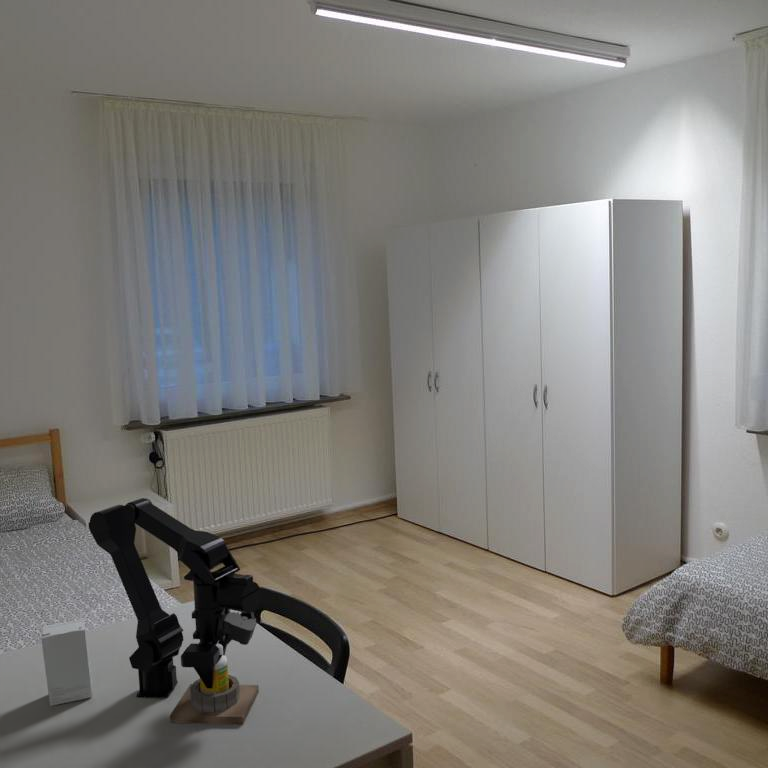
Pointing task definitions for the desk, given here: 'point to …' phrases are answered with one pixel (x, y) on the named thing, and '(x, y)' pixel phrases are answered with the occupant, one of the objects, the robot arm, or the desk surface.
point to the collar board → (217, 716)
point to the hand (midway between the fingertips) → (214, 680)
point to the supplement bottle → (218, 676)
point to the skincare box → (67, 662)
